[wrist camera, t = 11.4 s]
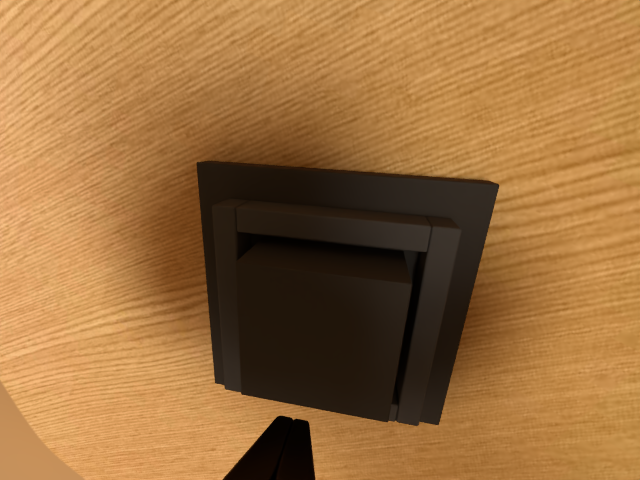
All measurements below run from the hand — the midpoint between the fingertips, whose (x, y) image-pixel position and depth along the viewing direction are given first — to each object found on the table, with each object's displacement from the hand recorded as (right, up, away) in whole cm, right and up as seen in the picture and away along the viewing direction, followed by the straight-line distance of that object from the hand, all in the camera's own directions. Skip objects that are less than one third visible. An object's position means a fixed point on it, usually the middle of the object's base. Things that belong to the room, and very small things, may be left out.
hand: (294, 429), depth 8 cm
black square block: (+1, +2, +6) cm, 6 cm away
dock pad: (+1, +2, +7) cm, 7 cm away
